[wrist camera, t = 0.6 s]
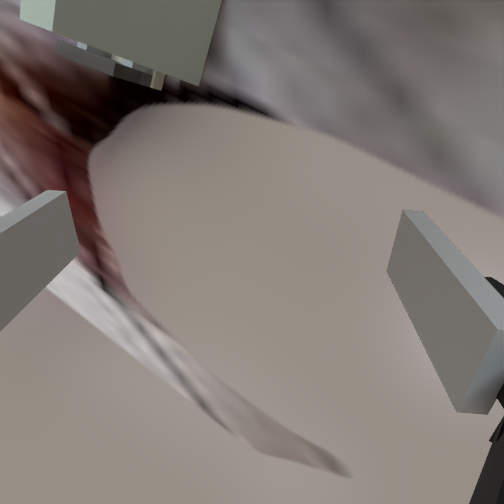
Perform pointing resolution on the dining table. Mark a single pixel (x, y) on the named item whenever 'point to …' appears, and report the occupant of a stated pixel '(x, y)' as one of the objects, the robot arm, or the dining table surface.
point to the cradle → (111, 64)
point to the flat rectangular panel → (135, 30)
